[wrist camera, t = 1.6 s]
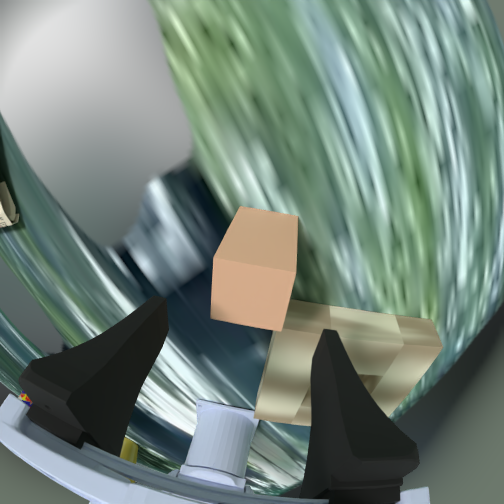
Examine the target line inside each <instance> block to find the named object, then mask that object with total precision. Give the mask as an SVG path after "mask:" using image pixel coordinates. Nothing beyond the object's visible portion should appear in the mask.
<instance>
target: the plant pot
mask: <svg viewBox="0 0 504 504" xmlns="http://www.w3.org/2000/svg"><path fill="white" fill-rule="evenodd" d="M137 452H138V445H137V444H136V443H134V442H133V441H131V440H130V439H128V438H126V437H125V438H124V442H123V446H122V450H121V454H120V458H122V459H124V460H127V461H129V462H132V463H135V464H136V460H137ZM123 477H124V476H123ZM125 478H126V477H125ZM127 479H129V478H127ZM129 480H130V481H131V483H135V481H134V480H131V479H129Z"/></svg>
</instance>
